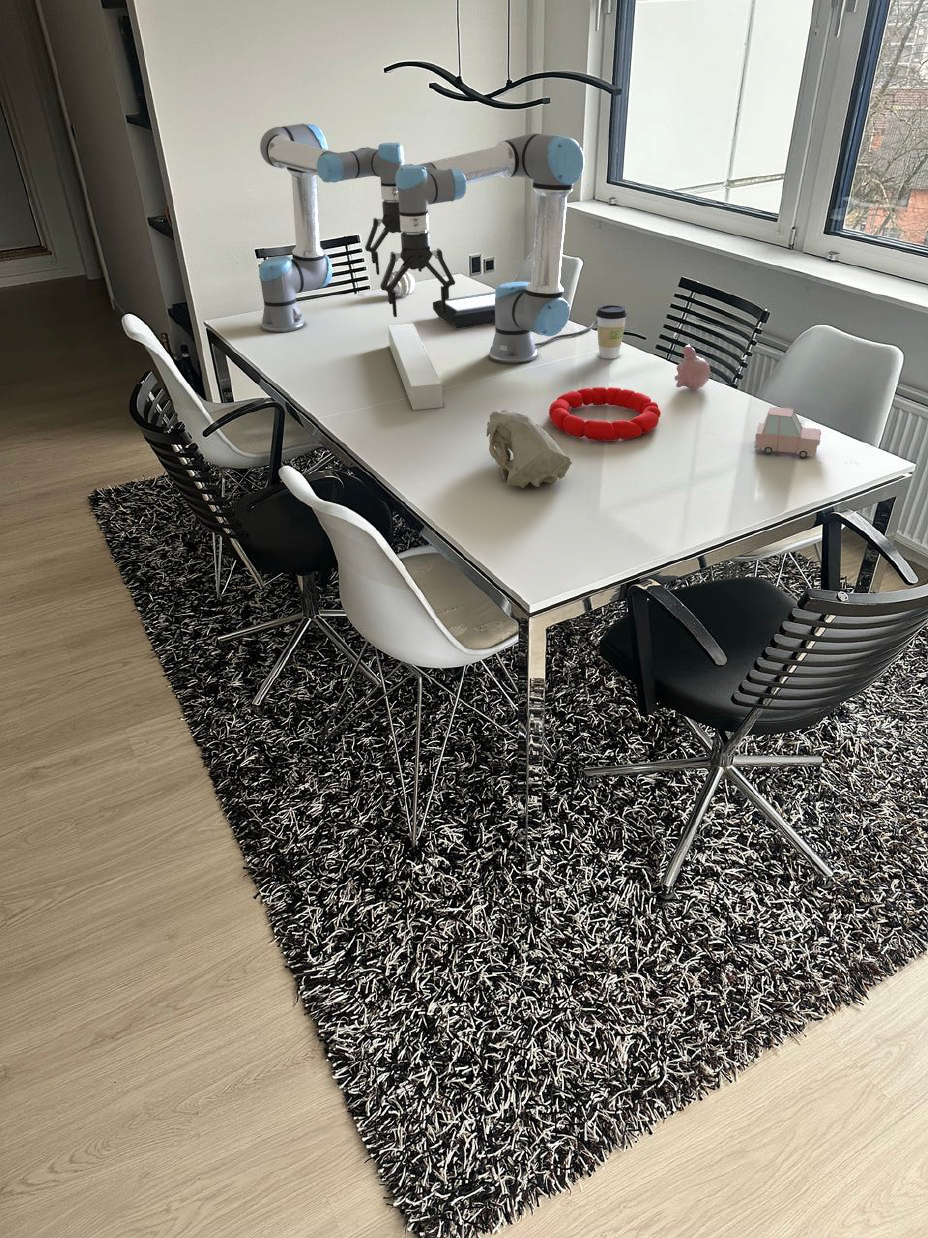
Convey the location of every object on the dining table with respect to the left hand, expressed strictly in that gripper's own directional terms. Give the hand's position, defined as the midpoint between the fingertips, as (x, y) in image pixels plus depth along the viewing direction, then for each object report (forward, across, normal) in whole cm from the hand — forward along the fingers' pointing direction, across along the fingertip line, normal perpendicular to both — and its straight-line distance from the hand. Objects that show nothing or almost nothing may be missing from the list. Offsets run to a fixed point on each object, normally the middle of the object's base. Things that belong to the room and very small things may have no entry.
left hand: (399, 272), depth 285 cm
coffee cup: (+25, +64, -23) cm, 73 cm away
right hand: (0, 0, -48) cm, 48 cm away
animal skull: (+25, +17, -100) cm, 105 cm away
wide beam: (+25, 0, -24) cm, 35 cm away
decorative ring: (+25, +46, -76) cm, 92 cm away
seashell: (+25, +7, +68) cm, 73 cm away
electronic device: (+25, +33, +30) cm, 51 cm away
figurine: (+25, +78, -58) cm, 100 cm away
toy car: (+25, +84, -105) cm, 137 cm away
